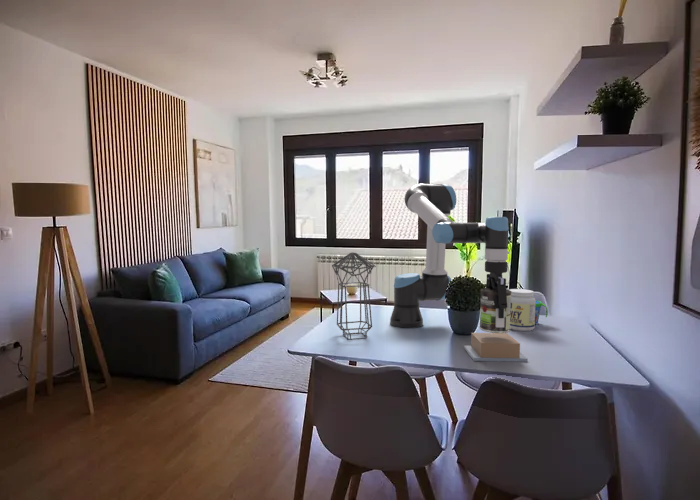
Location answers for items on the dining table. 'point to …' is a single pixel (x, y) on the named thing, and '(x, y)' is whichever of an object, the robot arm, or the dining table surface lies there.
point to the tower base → (494, 347)
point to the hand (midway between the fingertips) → (494, 323)
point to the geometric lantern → (353, 286)
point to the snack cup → (537, 310)
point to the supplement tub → (522, 310)
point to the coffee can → (493, 312)
